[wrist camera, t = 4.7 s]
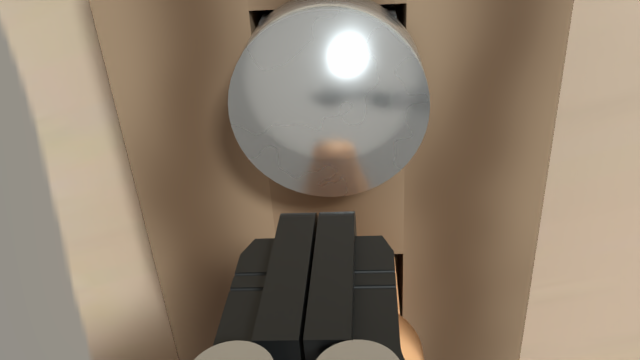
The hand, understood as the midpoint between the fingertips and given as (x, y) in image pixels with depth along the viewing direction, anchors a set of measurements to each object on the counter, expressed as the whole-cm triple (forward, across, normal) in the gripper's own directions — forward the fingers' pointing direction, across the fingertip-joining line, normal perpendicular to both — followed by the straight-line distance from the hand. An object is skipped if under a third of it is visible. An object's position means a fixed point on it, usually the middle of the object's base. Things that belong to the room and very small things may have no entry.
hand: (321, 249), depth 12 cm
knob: (+11, 0, -1) cm, 11 cm away
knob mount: (+11, 0, +8) cm, 14 cm away
